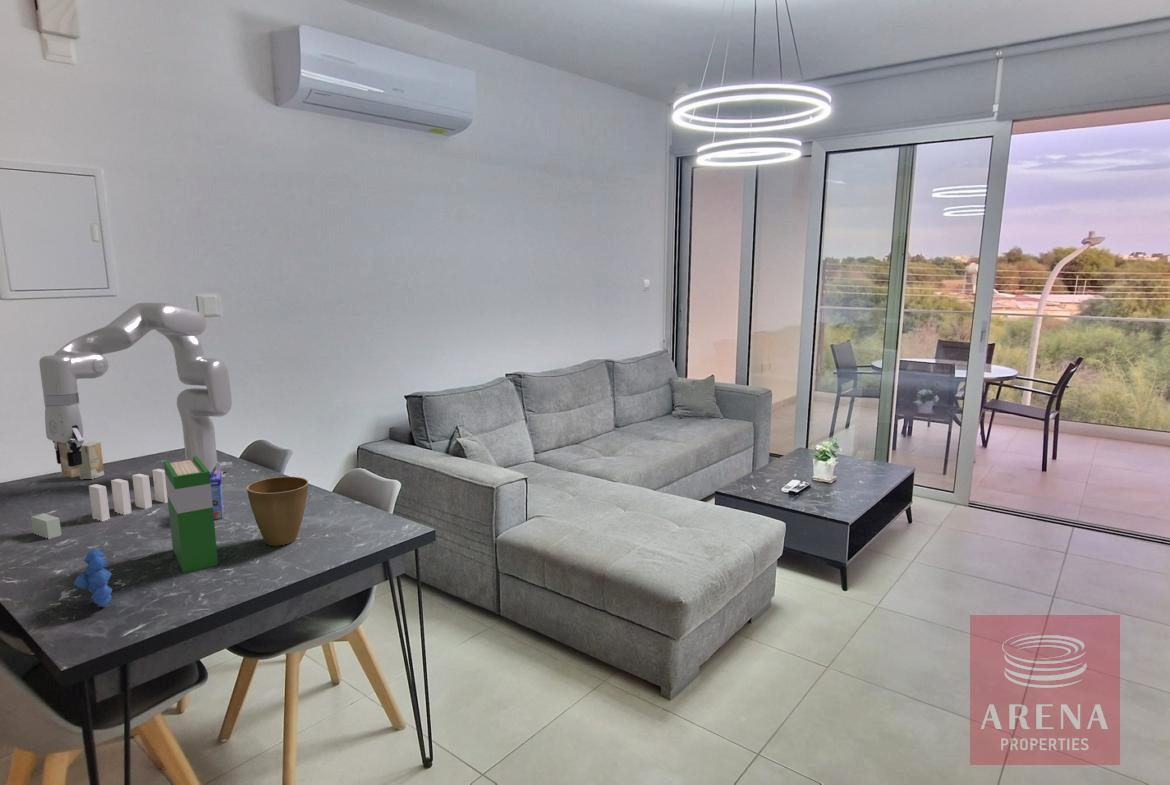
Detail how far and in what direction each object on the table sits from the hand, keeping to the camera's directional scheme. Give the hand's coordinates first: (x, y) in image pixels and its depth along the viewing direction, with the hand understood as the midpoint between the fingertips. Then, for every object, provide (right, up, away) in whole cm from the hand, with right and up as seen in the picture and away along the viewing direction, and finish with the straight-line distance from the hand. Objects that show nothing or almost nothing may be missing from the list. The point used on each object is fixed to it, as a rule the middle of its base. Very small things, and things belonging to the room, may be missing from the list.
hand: (69, 463), depth 184 cm
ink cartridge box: (+33, -17, +13) cm, 39 cm away
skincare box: (-29, -10, +48) cm, 57 cm away
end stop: (-3, -19, -3) cm, 20 cm away
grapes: (+38, -26, -41) cm, 62 cm away
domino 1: (0, -3, +1) cm, 3 cm away
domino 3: (+5, -16, +14) cm, 22 cm away
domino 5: (+11, -15, +24) cm, 30 cm away
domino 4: (+8, -15, +19) cm, 26 cm away
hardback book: (+45, -22, -17) cm, 53 cm away
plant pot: (+62, -21, -6) cm, 66 cm away
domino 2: (+3, -17, +8) cm, 19 cm away
